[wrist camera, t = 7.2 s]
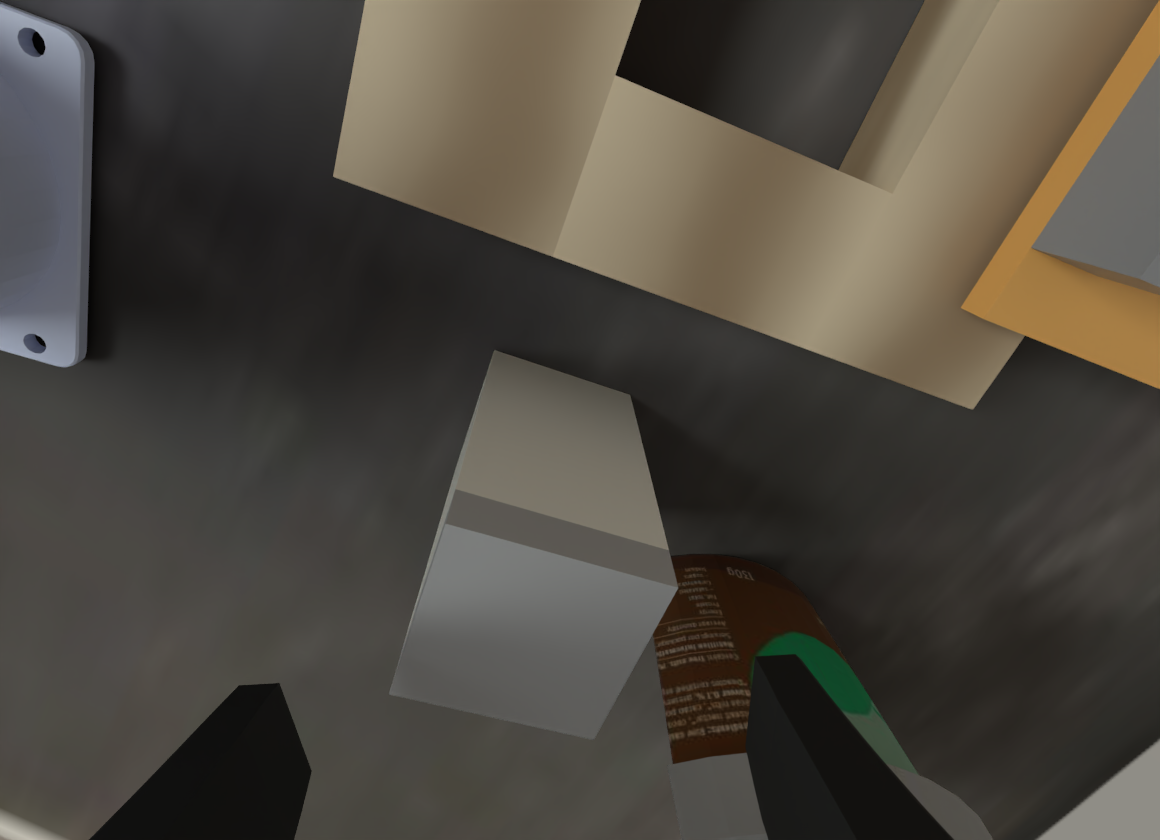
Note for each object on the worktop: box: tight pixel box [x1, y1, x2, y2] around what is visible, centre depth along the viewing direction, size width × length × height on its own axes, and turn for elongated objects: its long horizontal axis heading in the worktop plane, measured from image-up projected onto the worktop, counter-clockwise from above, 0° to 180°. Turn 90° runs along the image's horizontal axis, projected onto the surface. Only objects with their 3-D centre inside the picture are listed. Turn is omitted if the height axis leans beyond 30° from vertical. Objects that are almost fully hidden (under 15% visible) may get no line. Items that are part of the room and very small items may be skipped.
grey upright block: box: [389, 350, 678, 740], centre depth 14 cm, size 4×4×8 cm
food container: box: [653, 554, 993, 840], centre depth 17 cm, size 12×6×10 cm, turn 20°
